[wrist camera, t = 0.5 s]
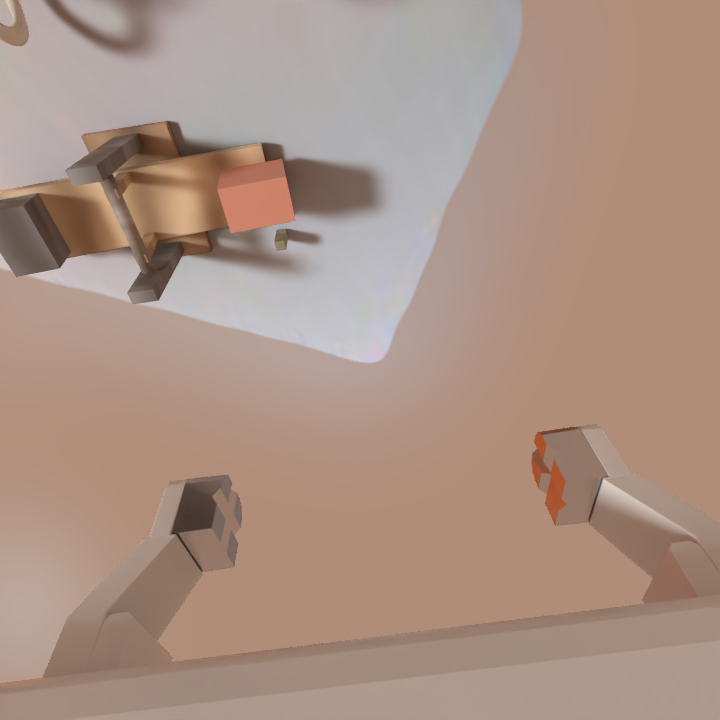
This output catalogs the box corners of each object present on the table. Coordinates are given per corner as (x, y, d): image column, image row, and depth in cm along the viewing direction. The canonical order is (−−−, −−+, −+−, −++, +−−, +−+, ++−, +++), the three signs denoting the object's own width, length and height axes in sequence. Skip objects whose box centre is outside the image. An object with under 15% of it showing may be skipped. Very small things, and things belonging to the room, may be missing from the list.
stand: (142, 259, 52) (105, 313, 43) (84, 134, 44) (25, 168, 35) (287, 237, 52) (280, 287, 43) (256, 106, 44) (240, 135, 35)
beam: (32, 269, 48) (6, 301, 43) (-22, 183, 43) (-60, 208, 38) (280, 220, 50) (283, 245, 45) (258, 132, 45) (259, 149, 39)
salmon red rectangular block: (232, 210, 47) (231, 233, 43) (220, 170, 45) (217, 189, 40) (291, 199, 48) (295, 220, 43) (282, 158, 45) (285, 176, 41)
